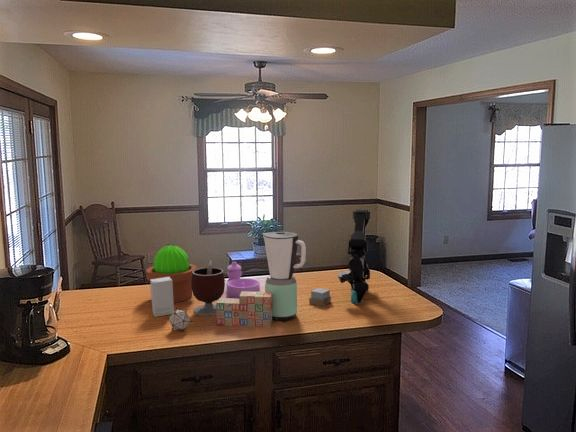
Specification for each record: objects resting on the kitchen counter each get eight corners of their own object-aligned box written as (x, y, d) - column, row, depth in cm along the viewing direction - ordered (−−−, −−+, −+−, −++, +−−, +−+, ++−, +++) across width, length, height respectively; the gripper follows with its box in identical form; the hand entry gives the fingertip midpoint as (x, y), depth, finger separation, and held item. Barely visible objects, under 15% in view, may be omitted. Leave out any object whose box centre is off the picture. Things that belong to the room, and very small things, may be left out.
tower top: (318, 294, 222) (318, 287, 222) (329, 296, 219) (329, 290, 219) (311, 297, 218) (311, 290, 217) (322, 300, 214) (322, 293, 214)
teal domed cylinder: (353, 299, 223) (354, 288, 223) (364, 301, 221) (364, 290, 220) (349, 302, 219) (349, 291, 218) (359, 304, 216) (359, 293, 216)
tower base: (317, 300, 224) (317, 293, 223) (330, 302, 220) (330, 296, 219) (309, 304, 218) (309, 297, 217) (323, 307, 214) (323, 300, 213)
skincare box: (171, 310, 209) (170, 276, 207) (174, 314, 204) (173, 279, 202) (151, 312, 206) (149, 278, 203) (154, 317, 200) (152, 282, 198)
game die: (176, 338, 189) (169, 313, 192) (197, 329, 189) (190, 305, 193) (168, 334, 180) (161, 309, 184) (190, 326, 181) (182, 301, 184)
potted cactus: (181, 307, 213) (179, 250, 209) (138, 301, 220) (135, 247, 216) (205, 292, 233) (204, 240, 230) (165, 288, 240) (163, 238, 237)
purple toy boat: (264, 299, 224) (264, 270, 222) (232, 303, 218) (231, 274, 217) (247, 284, 247) (246, 259, 245) (217, 288, 241) (217, 261, 239)
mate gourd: (222, 316, 202) (221, 268, 199) (189, 316, 202) (187, 268, 199) (227, 304, 217) (227, 259, 214) (196, 303, 217) (195, 259, 214)
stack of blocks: (216, 325, 192) (215, 295, 190) (219, 320, 198) (219, 290, 196) (270, 327, 190) (270, 296, 188) (272, 321, 196) (272, 291, 194)
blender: (255, 318, 198) (254, 233, 193) (269, 308, 211) (269, 228, 205) (299, 325, 191) (299, 237, 186) (311, 314, 203) (311, 231, 198)
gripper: (335, 260, 226) (335, 293, 228) (343, 271, 208) (342, 306, 210) (359, 260, 227) (358, 293, 229) (369, 270, 208) (368, 306, 211)
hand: (356, 299), depth 220 cm, fingers open, 9 cm apart
